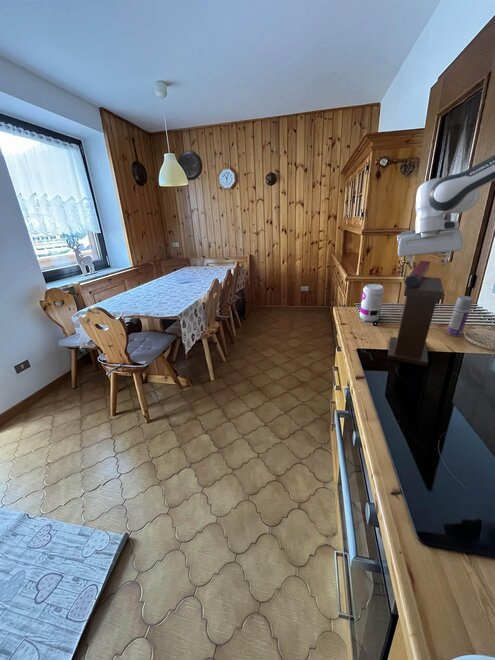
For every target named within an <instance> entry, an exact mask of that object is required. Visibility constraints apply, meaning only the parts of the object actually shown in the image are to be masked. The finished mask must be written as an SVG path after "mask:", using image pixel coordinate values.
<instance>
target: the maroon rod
mask: <svg viewBox="0 0 495 660" xmlns="http://www.w3.org/2000/svg"><path fill="white" fill-rule="evenodd" d="M430 265H431V261H428V260H420V261H419V262H418V263H417V264H416V267H415V268H413V270H412V271H411V272H410V273H409V274H408V275H407V276H408V277H407V278H406V277H405V279H406V280H405V279H404V285H405V284H406V286H408V287H411V288H412V287H415V286H417V285H418V284H419V283H420V281H421V280H422V278H423V277H426V274H427V273H428V271H429V270H430Z"/></svg>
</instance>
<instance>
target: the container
mask: <svg viewBox="0 0 495 660" xmlns="http://www.w3.org/2000/svg"><path fill="white" fill-rule="evenodd" d="M473 300H474V299H473V297H471V296H469V295H468V296H467V295H459V296H458V297H457V299H456V303H455V305H454V307H453V312H452V314H451V318H450V321H449V324H448V328H447V332H446V333H447V334H448V335H449V336H453V337H461V336H462V334H463V331H464V328H465V326H466V322H467V319H468V316H469V314H470V310H471V308H472V304H473Z"/></svg>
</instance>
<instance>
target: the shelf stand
mask: <svg viewBox="0 0 495 660" xmlns="http://www.w3.org/2000/svg"><path fill="white" fill-rule="evenodd" d="M408 276H409V275H405V279H404V281H405V280H406V278H407V277H408ZM444 294H445V291H444V287H443V283H442V280H441V277H432V276H424V277H423V278H422V280H421V281H420V283H419V284H418V285H417V286H415V287H412V288H411V287H408V286H406V284H405V283H404V287H403V296H404V297H405V298H404V303H403V307H402V312H401V317H400V322H399V325H398V331H397V335H396V337H393V336H390V338H389V344H388V352H387V357H386V359H387V360H392V361H396V362H402V363H407V364H413V365H417V366H423V367H428V364H429V357H428V356H429V355H428V345H427V344H428V343H427V338H428V334H429V330H430V326H431V324H432V319H433V316H434V312H435V309H436V304H437V301H438V300H443V297H444Z"/></svg>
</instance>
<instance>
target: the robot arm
mask: <svg viewBox="0 0 495 660" xmlns="http://www.w3.org/2000/svg"><path fill="white" fill-rule="evenodd" d="M494 181H495V154H494V155H493V156H491V157H488V158H487V159H484V160H483V161H481V162H479V163H478V164H475V165H473V166H472V167H470V168H468V169H466V170H464V171H462V172H459V173H454V174H449V175H447V176H444V177H435V178H432V179H428V180H426V181H424V182H423V183H422V184H420V185H419V186H418V188H417V190H416V194H415V195H416V196H415V207H414V208H415V209H414V210H415V214H416V217H415V220H414V229H413V230H408V231H402V232H400V233H399V234H397V236H396V243H397V244H398V247H397V256H398V257H399V258H400V257H401V258H404V257H407V260H408V261H409V263H410V264H411V269H415V267H416V266H417V263H416V262H413V261H414V260H412V259H413V257H414V256H423V255H432V254H442V253H444V255H445V258H443V259H442V260H440V265H441V266H447V260H448V259H449V257H450V256H451V253H452V252H459V251H461V250H462V249H463V248H464V239H463V233H462V230H460V229H459V228H460V222H459V221H456V220H455V221H454V220H446V219H445V215H447V214H461V213H464V212H468V211H469V210H471V209H472V208H473V207H474V206H475V205H476V204H477V202H478V200H479V197H480V190H479V189H481V188H482V187H483V186H486V185H488V184H490V183H492V182H494Z"/></svg>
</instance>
